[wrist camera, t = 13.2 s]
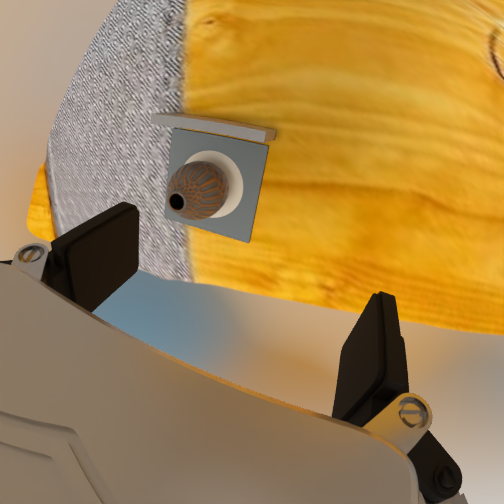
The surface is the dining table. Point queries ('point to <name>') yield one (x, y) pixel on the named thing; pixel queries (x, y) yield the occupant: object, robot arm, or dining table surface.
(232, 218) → the mat
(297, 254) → the dining table surface
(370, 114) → the dining table surface
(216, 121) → the low wall
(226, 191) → the vase
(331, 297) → the dining table surface
